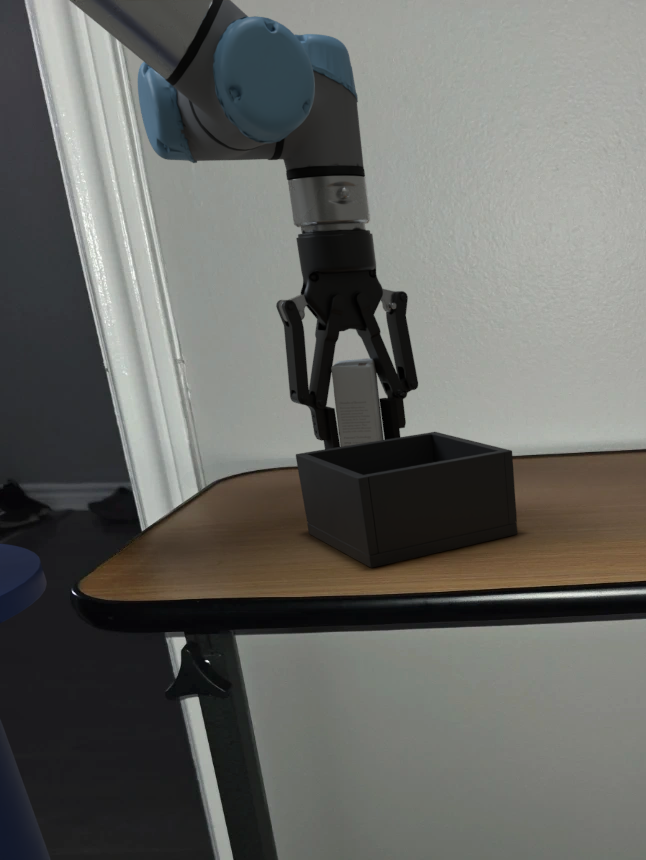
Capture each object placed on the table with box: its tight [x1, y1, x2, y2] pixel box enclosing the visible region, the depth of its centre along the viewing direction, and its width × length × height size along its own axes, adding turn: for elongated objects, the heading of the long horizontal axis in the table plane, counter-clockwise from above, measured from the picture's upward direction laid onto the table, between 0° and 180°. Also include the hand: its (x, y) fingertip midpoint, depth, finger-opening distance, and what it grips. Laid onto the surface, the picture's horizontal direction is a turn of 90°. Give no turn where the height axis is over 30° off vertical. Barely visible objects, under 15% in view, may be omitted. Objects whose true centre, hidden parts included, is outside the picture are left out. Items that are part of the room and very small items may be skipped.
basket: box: [295, 431, 518, 569], centre depth 79 cm, size 14×14×7 cm
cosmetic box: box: [331, 357, 384, 447], centre depth 100 cm, size 6×4×12 cm
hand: (365, 464), depth 102 cm, fingers closed on cosmetic box, 6 cm apart
